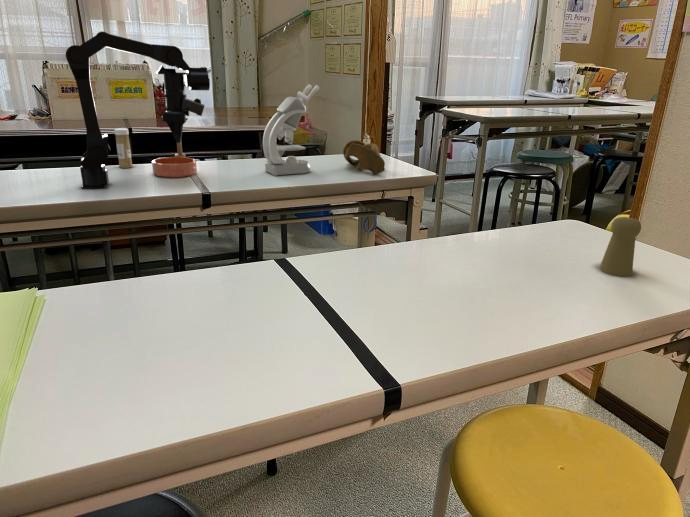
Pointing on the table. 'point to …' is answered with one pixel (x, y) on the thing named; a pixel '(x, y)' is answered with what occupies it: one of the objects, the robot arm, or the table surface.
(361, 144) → the brown looped sculpture
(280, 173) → the microscope
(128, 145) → the sprinkles bottle
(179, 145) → the wooden post on base
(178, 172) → the bowl
